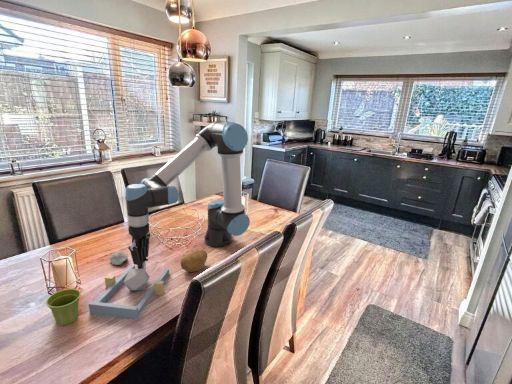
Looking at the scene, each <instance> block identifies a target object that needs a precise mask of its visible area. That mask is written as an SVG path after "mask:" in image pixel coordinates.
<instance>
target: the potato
mask: <svg viewBox="0 0 512 384" xmlns="http://www.w3.org/2000/svg"><path fill="white" fill-rule="evenodd" d="M207 259H208V253H207V252H206V250H203V249H198V250H195V251H192V252H189V253H188V254H185V256H183V257H182V258H180V267H181V269H183V270H184V271H185V272H188V273H193V272H197V271H199V270H202V269H203V268H204V267H205V264H206V262H207Z"/></svg>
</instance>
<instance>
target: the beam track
mask: <svg viewBox="0 0 512 384" xmlns="http://www.w3.org/2000/svg"><path fill="white" fill-rule="evenodd" d="M130 269H136V265H134V264H131V265H130V266H129V267H128V268H126V270H125V271H124V272H123V273H122V274H121V275H120V276H119V277H118V278H116V275H113V274H112V275H111V274H107V275H106V276H105V277H104V283H105V289H106V290H105V291H104V292H103V293H101V295H100V296H99V297H98V298H97V299H96V300H95V301H93V300H91V301H90V302H89V303H88V309H89V314H91V315H96V316H98V315H99V316H106V317H113V318H122V319H127V320H128V319H130V320H138V319H139V317H140V315H141V314H142V313H143V311H144V310H145V309H146V307H147V305H148V304H149V303H150V302H151V300H152V299H153V298H154V296H155V295H156V296H163V294H164V293H165V283H164V282H165V280H166V279H167V278H168V277H169V275H170V269H169V268H165V269H164V270H163V272H162V273H161V274H160V275H159V277H158V278H157V279H156V280H155V281H154V282H153V285H152V286H151V287H150V289H148V291H147V292H146V294H145V295H144V296H143V297H142V299H141V300H140V301H139V303H138V305H137V306H133V305H125V304H118V303H110V302H107V301H108V300H109V299H110V298H111V297H112V296H113V295H114V294H115V293H116V292H117V290H118V289H119V288H120V287H121V286H122V285H123V284H124V280H125V278H126V276H127V274H128V272H129V270H130Z"/></svg>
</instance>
